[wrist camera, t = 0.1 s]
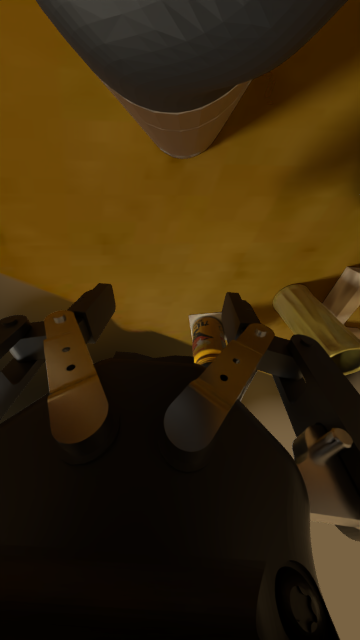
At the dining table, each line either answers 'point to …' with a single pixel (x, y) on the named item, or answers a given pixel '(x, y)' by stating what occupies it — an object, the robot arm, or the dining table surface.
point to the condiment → (207, 337)
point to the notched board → (345, 297)
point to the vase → (318, 326)
